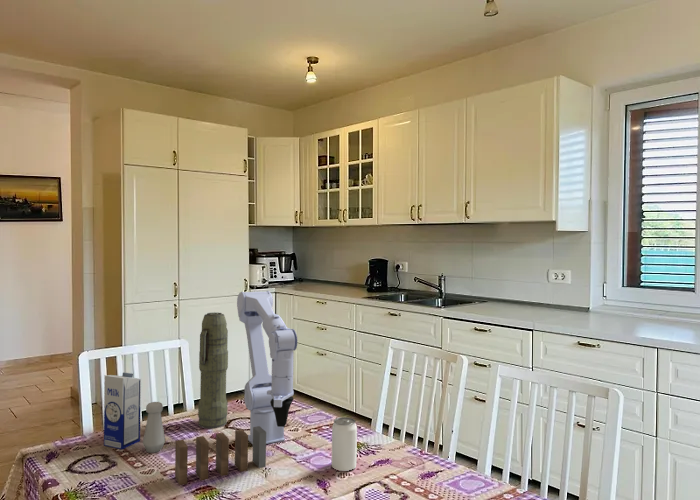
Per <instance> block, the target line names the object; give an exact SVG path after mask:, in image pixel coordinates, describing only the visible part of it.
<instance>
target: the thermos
mask: <svg viewBox="0 0 700 500" xmlns="http://www.w3.org/2000/svg"><path fill="white" fill-rule="evenodd" d="M227 326H228V324H227V320H226V317H225V314H224V313H222V312H207V313H205V314H204V316H203V318H202V321H201V332H200V334H199V351H198V352H199V354H198V355H199V357H198V359H199V360H198V365H199V366H198V369H199V371H200V384H199V385H200V387H199V389H200V392H199V393H200V395H199V396H200V398H199V400H198V402H197V403H198V404H197V405H198V406H197V407H198V408H197V410H198V411H197V413H198V414H197V416H198V426H199V427H200V428H203V429H218V428H221V427H224V426H225V425H227V424H228V420H227V419H228V418H227V417H228V405H229V404H228V400H227V370H228V368H229V350H228V339H229V338H228V337H229V336H228V331H229V330H228V328H227Z"/></svg>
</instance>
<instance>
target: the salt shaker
mask: <svg viewBox="0 0 700 500" xmlns="http://www.w3.org/2000/svg"><path fill="white" fill-rule="evenodd" d="M163 409H164V406H163V403H162V402H160V401H152V402H149V403H147V404H146V408H145V411H146V413H147V419H146V424H145V429H144V430H145V431H144V433H143V434H144V435H143V439H142V446H143V448H144V449H145V451H146V453H149V454H150V453H151V454H154V453H158V452H161V451H162V449H163V447H164V445H165V443H166V438H165V437H166V436H165V432H164V424H163V420H162V419H163V418H162V414H161V413H162V411H163Z"/></svg>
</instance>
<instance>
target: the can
mask: <svg viewBox="0 0 700 500" xmlns="http://www.w3.org/2000/svg"><path fill="white" fill-rule="evenodd" d="M357 442H358V427H357V424H356V420H355V419H354V418H352V417H346V416H342V417H337V418H335V419H334V420H333V424H332V427H331V467H332V469H333V468H334V469H333V470H335V469H336V470H335V471H337V470H339V471H338V472H341V471H348V472H350V471H349V470H352V469H353V470H355V468H356V467H357V458H358V457H357V454H358V453H357V452H358V451H357V449H358V446H357V444H358V443H357ZM353 470H352V471H353Z"/></svg>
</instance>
